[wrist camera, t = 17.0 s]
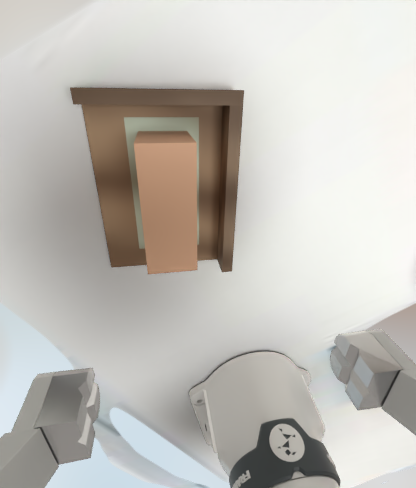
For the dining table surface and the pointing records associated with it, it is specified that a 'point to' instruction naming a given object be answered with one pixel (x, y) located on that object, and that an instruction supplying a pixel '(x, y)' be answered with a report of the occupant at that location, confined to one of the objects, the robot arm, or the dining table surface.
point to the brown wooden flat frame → (124, 164)
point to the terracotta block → (168, 199)
